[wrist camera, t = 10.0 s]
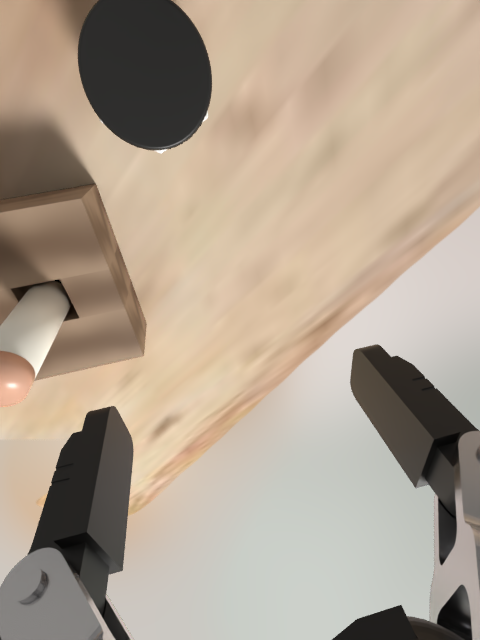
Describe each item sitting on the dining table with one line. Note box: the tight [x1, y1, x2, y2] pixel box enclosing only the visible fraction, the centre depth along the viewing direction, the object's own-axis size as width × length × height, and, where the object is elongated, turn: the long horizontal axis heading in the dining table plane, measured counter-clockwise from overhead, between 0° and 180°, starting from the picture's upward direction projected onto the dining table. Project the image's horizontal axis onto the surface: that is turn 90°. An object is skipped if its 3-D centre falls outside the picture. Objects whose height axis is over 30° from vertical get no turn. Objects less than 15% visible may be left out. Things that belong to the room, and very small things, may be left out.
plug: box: [0, 281, 72, 407], centre depth 27 cm, size 4×4×13 cm
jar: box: [78, 0, 212, 153], centre depth 25 cm, size 9×8×12 cm
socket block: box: [0, 184, 146, 381], centre depth 34 cm, size 18×14×7 cm
